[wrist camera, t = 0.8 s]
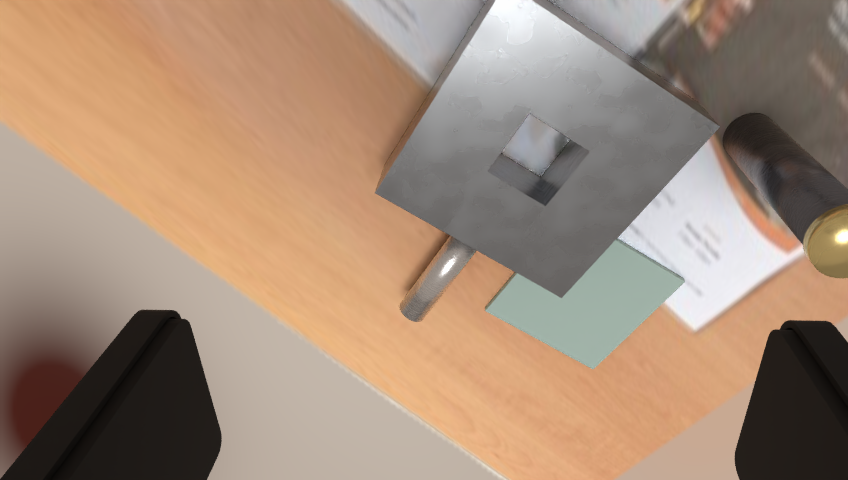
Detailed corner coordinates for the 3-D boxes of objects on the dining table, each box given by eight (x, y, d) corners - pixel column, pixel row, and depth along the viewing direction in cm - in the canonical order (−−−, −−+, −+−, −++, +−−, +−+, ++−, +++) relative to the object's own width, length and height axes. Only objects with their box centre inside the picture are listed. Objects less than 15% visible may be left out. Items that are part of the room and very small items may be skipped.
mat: (568, 209, 42) (568, 212, 41) (683, 278, 44) (685, 281, 43) (485, 307, 47) (485, 310, 46) (592, 365, 49) (593, 369, 48)
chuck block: (504, -29, 35) (506, -17, 31) (698, 102, 37) (720, 126, 34) (331, 250, 45) (318, 282, 42) (492, 336, 48) (492, 372, 45)
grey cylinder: (749, 99, 37) (858, 198, 26) (791, 128, 38) (914, 237, 27) (707, 144, 39) (793, 255, 28) (748, 171, 39) (848, 290, 28)
